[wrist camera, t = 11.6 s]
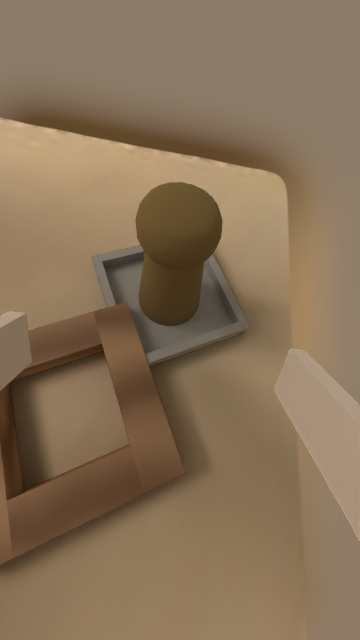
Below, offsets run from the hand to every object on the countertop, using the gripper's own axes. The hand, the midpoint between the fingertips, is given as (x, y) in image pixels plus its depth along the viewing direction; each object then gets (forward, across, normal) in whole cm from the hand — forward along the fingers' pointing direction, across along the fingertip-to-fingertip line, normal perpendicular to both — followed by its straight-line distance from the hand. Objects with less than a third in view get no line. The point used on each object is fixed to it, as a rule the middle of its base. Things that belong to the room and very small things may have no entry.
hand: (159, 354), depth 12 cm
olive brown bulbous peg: (+12, 0, -1) cm, 12 cm away
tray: (+12, 0, -1) cm, 12 cm away
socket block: (+4, -7, -9) cm, 12 cm away
